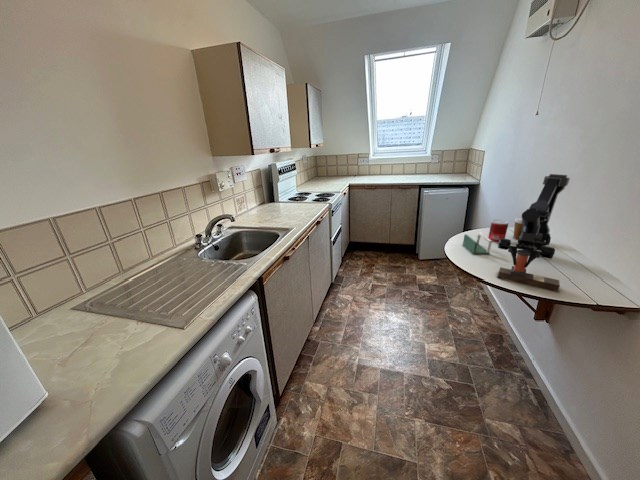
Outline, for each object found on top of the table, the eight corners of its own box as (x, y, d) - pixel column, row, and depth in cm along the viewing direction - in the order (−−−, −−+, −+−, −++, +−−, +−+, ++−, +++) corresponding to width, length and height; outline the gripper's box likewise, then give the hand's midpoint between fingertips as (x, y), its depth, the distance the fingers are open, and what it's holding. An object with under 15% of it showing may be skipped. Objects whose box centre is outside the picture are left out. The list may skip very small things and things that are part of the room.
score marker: (510, 274, 111) (515, 253, 108) (511, 268, 116) (516, 248, 112) (524, 277, 108) (531, 256, 105) (525, 271, 113) (531, 250, 109)
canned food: (507, 242, 150) (511, 223, 145) (492, 242, 150) (497, 224, 146) (498, 237, 157) (503, 219, 152) (485, 237, 157) (489, 219, 153)
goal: (477, 244, 147) (479, 232, 145) (489, 254, 136) (492, 240, 134) (462, 245, 148) (464, 232, 145) (473, 254, 137) (475, 241, 134)
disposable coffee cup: (519, 234, 158) (525, 215, 154) (534, 240, 150) (540, 220, 145) (505, 236, 157) (510, 217, 153) (519, 242, 148) (525, 222, 144)
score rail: (497, 277, 115) (498, 271, 114) (498, 272, 119) (500, 266, 118) (557, 292, 104) (559, 285, 102) (556, 286, 107) (559, 279, 106)
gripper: (504, 220, 113) (493, 252, 109) (562, 228, 101) (552, 265, 98) (503, 232, 121) (493, 262, 118) (556, 241, 110) (547, 275, 106)
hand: (519, 266), depth 110 cm, fingers closed on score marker, 3 cm apart
